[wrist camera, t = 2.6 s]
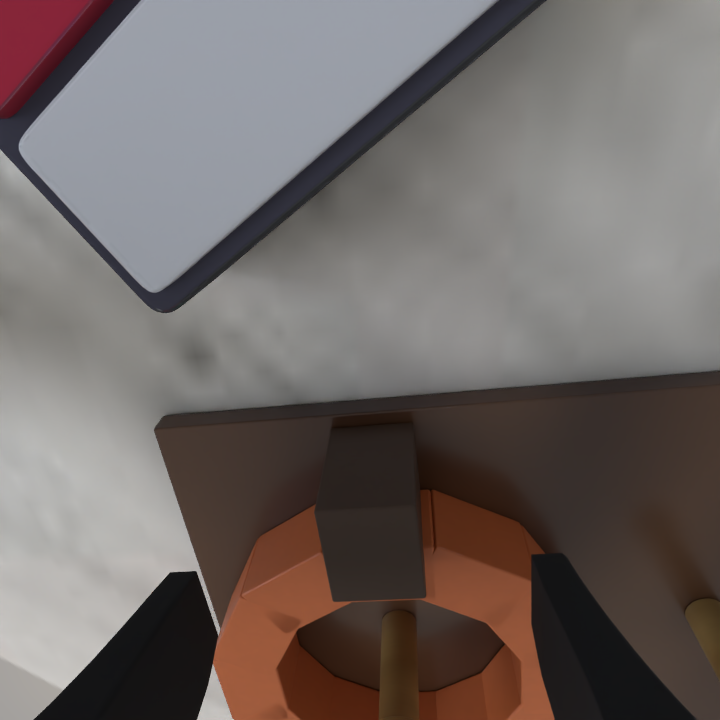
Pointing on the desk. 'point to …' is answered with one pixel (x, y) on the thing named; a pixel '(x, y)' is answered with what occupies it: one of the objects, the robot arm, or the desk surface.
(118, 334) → the desk surface
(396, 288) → the desk surface
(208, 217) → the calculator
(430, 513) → the ring
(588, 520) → the rack
